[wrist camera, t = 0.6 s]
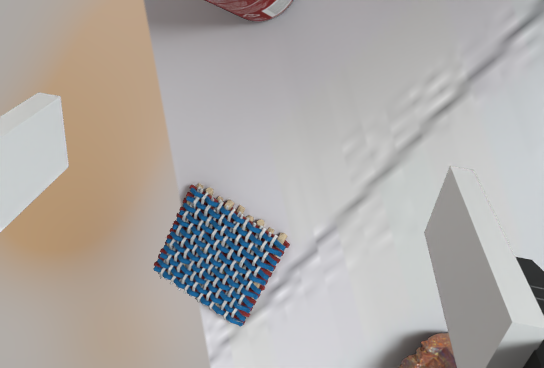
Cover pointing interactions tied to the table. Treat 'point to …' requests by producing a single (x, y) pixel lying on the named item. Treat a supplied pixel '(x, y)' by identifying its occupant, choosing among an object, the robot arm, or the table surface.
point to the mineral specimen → (432, 354)
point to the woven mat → (219, 254)
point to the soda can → (254, 8)
